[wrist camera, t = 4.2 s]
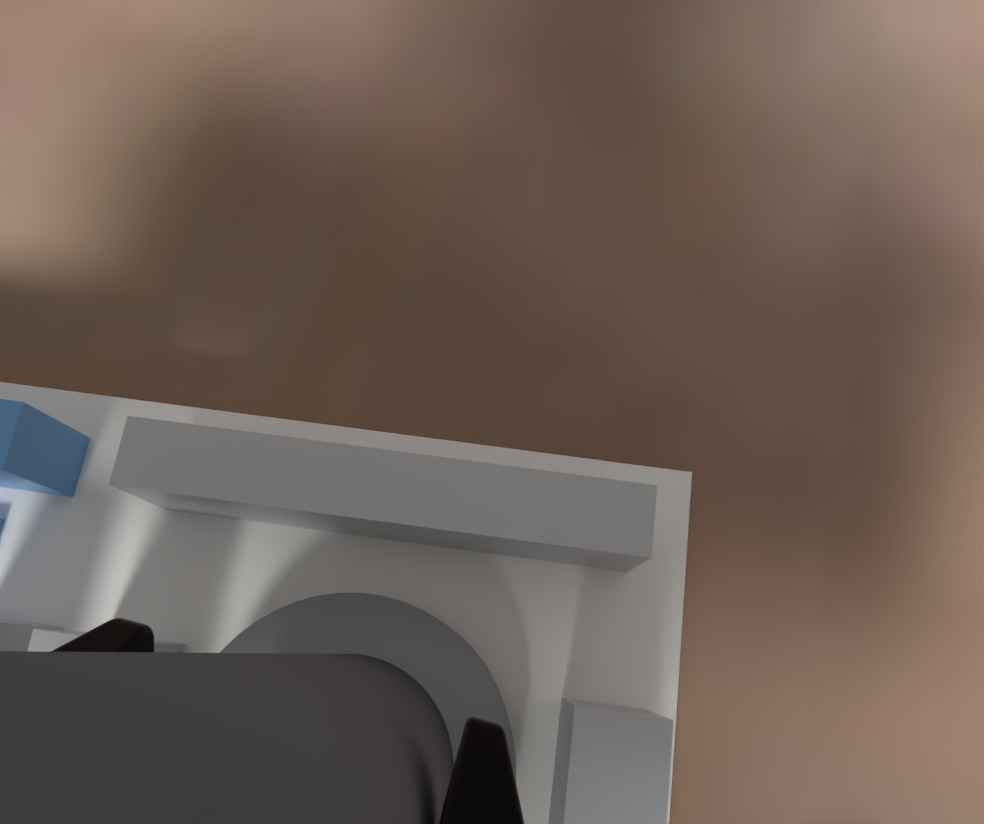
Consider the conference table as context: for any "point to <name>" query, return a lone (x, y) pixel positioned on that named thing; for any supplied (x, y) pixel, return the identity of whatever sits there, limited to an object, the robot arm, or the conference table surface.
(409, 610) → the grey cylinder on disc
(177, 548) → the white board with blocks
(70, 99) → the conference table surface
